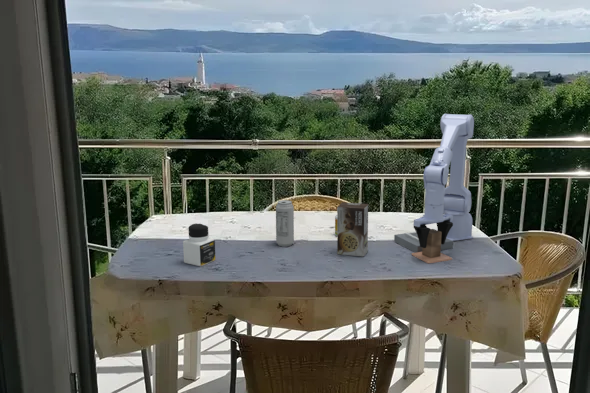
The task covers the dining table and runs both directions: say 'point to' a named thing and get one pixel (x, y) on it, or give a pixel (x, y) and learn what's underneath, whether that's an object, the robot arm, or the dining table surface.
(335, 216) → the supplement bottle
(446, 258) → the terracotta tile
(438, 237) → the brown rectangular block
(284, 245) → the energy drink can
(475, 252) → the dining table surface
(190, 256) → the medicine bottle
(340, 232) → the coffee box
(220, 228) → the dining table surface
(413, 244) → the grey square socket base
